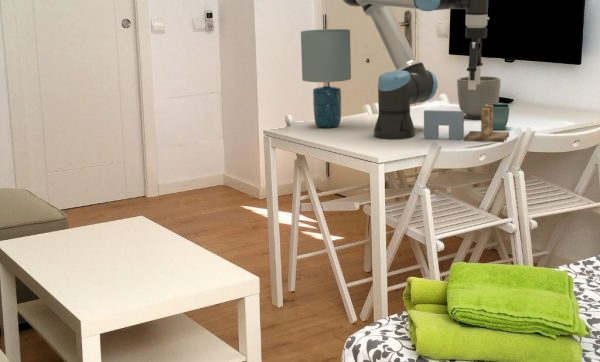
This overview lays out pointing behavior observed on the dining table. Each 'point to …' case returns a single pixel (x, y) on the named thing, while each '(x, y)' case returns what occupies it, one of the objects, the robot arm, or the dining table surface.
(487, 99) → the planter
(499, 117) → the flower pot
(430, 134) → the slotted board
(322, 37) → the lamp
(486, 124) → the jig
